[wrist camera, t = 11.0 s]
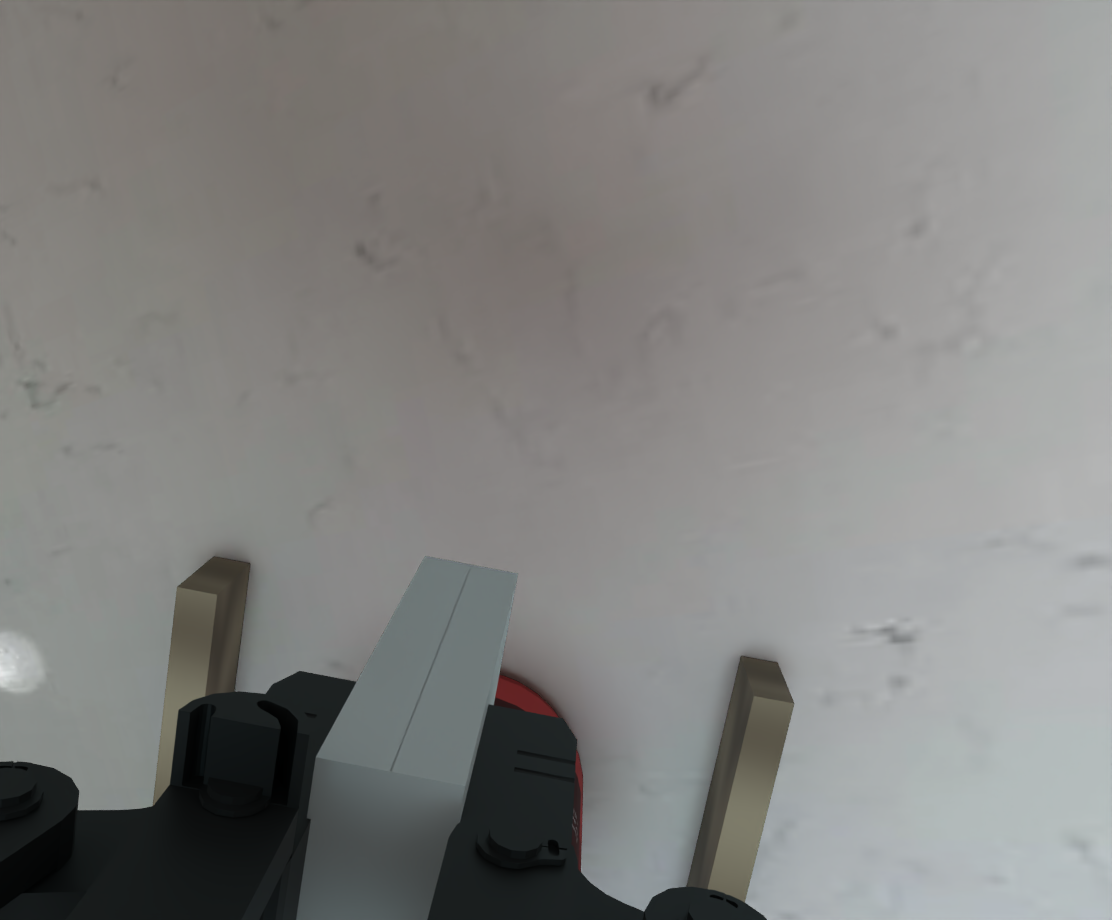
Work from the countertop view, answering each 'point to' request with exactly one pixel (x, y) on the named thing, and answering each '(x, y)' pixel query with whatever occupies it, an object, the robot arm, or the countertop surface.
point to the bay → (739, 775)
